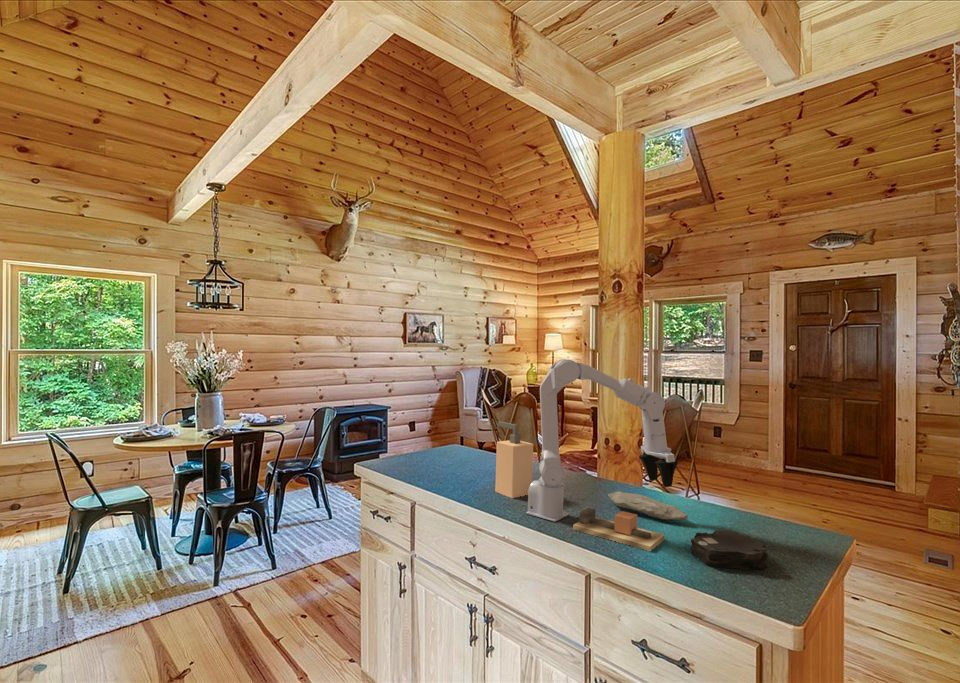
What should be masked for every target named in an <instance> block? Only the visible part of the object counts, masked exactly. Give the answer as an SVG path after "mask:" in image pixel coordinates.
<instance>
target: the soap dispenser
mask: <svg viewBox="0 0 960 683" xmlns="http://www.w3.org/2000/svg"><path fill="white" fill-rule="evenodd" d="M497 427H500V428H506V429H510V430H512V433H511V434H509V440H508V439H507V440H501V441H496V453H495V454H496V457H495V459H496V460H495V462H496V463H495V484H494V485H495V489H494V490H495V493H498V494H500V495H502V496H504V497H505V496H506V497H508V498H511V499H516V498H520V496H521V497H526V496H528V491H529V487H530V484H531V483H532V482H533V469H534V468H533V464H534V463H533V462H534V461H533V460H534V443H531V442H527V441H523V440H521V435H520V434H519V433H518V432H519V428H518V427H519V425H518V424H515V423H510V422H505V421H501V420H499V421H497ZM525 495H526V496H525Z"/></svg>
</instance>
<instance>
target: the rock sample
mask: <svg viewBox="0 0 960 683" xmlns="http://www.w3.org/2000/svg"><path fill="white" fill-rule="evenodd" d="M690 543H691V547H690V551H691V555H692V556H693V557H694V556H695V557H694V558H696V559H697V558H698V559H699V560H698V559H697V560H698V561H699V562H701V563H702V562H703V564H704V565H705V566H709V567H715V568H716V567H718V568H724V569H726V568H729V569H742V570H750V569H754V570H755V569H756V570H758V569H761V570H762V569H765V568H766V567H768V561H769V554H768V551H767V548H766V545H765V544H763V543H761V542H760V541H758V540H757V539H756V538H752V537H751V536H750V535H746V534H740V533H739V532H737V531H735V530H731V529H720V530H719V529H717V530H715V531H713V533H711V532H710V533H708V532H696V533H695V535H694V538H691V539H690Z"/></svg>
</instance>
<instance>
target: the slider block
mask: <svg viewBox="0 0 960 683" xmlns="http://www.w3.org/2000/svg"><path fill="white" fill-rule="evenodd" d="M614 522H615V525H614V531H616V532H620V533H624V534H627V535H631V531H632V529H637V528H638V514H637V513H633V512H632V513H631V512H629V511H624V510H621V511H620V512H618V513H616V514H614Z"/></svg>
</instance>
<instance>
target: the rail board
mask: <svg viewBox="0 0 960 683" xmlns="http://www.w3.org/2000/svg"><path fill="white" fill-rule="evenodd" d="M596 512H597V511H596V508H592V507H587V508H585V509H583V510H581V511H579V520H578V522H576V523H574V524H573V526H572V529H573V530H574V531H578V532H579V533H580V532H581V533H585V534H588V535H591V536H594V537H597V536H598V537H599V538H602V539H604V538H605V540H608V539H609V541H611V540H612V542H615V541H616V542H615V543H618V542H619V543H620V544H622V543H623V544H622V545H625V544H627V545H626V546H628V545H631V546H630V547H632V546H634V547H633V548H635V547H638V548H637V549H639V548H641V549H640V550H642V549H644V550H643V551H646V550H647V551H646V552H649V551H651V550H652V549H653V550H655V549H656V548H657V547H658V546H659V545H660V544H662V543H663V542H664V541H665V538H666V537H665V534H663V533H659V532H655V531H651V530H649V529H645V528H639V527H637V529H632V531H631V535H627V534H624V533H620V532H616V531H614V525H615V520H610V519H606V518H602V517H598V516H596ZM656 546H657V547H656ZM653 550H652V551H653ZM652 551H651V552H652Z"/></svg>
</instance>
